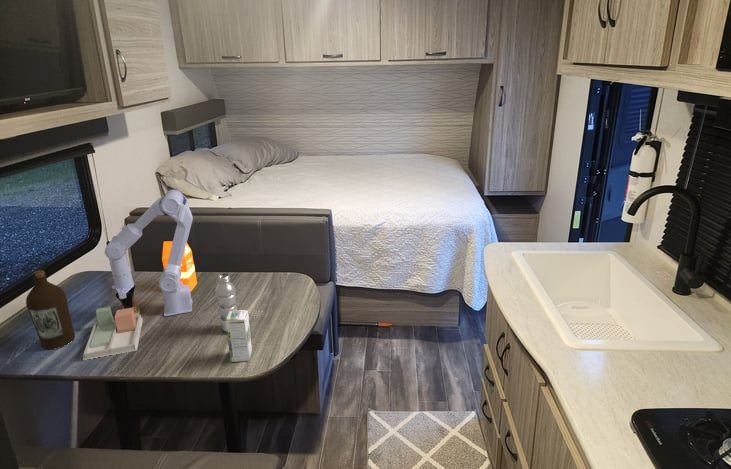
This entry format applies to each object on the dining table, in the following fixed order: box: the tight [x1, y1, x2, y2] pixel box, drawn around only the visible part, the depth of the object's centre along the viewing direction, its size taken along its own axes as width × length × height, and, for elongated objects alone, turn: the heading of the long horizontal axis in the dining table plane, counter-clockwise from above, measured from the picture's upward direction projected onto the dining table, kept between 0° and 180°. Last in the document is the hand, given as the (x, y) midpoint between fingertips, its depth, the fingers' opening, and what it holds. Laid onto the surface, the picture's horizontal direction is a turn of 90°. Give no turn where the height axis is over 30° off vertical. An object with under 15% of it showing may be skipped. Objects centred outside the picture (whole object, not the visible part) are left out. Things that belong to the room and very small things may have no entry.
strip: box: [90, 306, 116, 348], centre depth 155 cm, size 14×6×6 cm, turn 19°
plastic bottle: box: [214, 272, 238, 333], centre depth 156 cm, size 6×7×20 cm
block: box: [114, 308, 136, 331], centre depth 159 cm, size 5×5×5 cm
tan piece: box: [117, 294, 141, 333], centre depth 163 cm, size 14×6×6 cm, turn 19°
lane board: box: [82, 313, 144, 361], centre depth 155 cm, size 20×15×2 cm
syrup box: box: [225, 309, 253, 363], centre depth 142 cm, size 6×6×14 cm
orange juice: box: [161, 240, 198, 293], centre depth 186 cm, size 8×9×20 cm
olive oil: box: [25, 269, 76, 350], centre depth 150 cm, size 11×11×25 cm
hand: (129, 307), depth 168 cm, fingers closed on tan piece, 3 cm apart
